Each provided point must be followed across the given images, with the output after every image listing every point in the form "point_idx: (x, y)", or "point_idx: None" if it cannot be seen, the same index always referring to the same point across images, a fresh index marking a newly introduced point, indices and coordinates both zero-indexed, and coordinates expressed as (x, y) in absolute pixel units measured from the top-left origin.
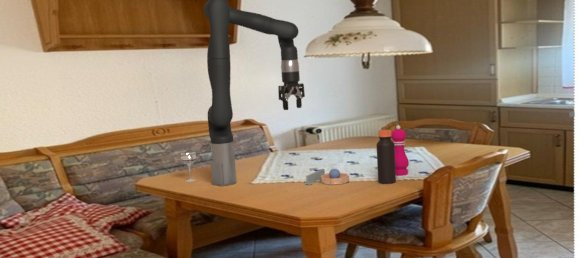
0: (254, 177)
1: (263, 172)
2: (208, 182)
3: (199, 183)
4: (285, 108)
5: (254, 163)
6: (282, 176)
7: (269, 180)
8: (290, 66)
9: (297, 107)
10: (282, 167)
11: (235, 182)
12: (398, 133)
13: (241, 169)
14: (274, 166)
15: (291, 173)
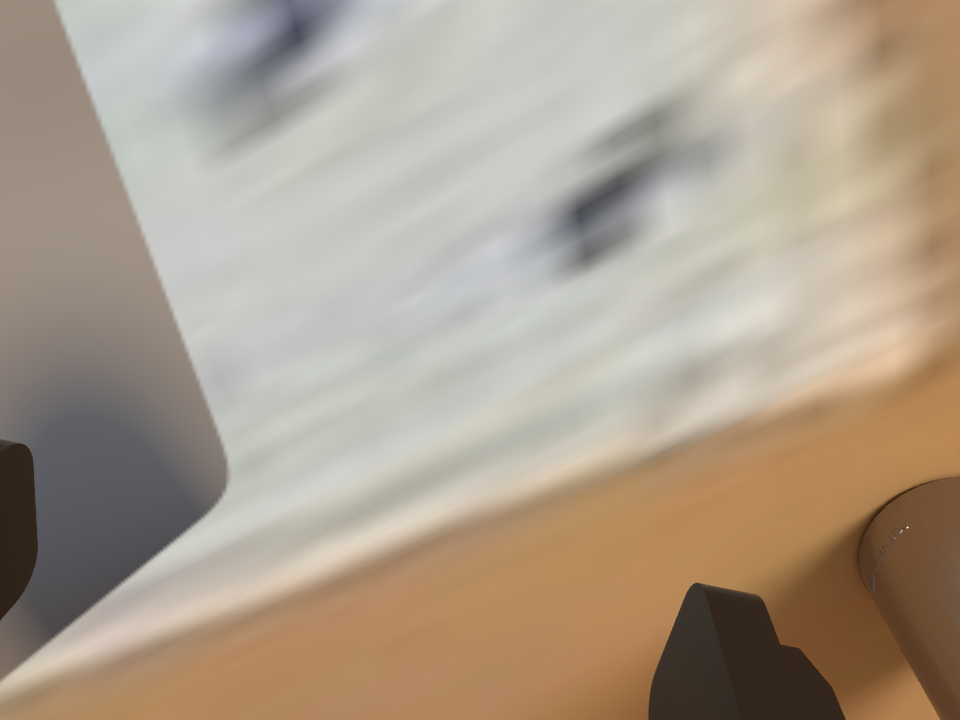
0: (708, 446)
1: (511, 471)
2: None
3: None
4: (800, 668)
5: (224, 685)
6: (635, 231)
7: (814, 263)
8: None
9: (30, 554)
10: (285, 418)
11: (954, 480)
12: None
13: (447, 671)
14: (271, 499)
15: (495, 212)
